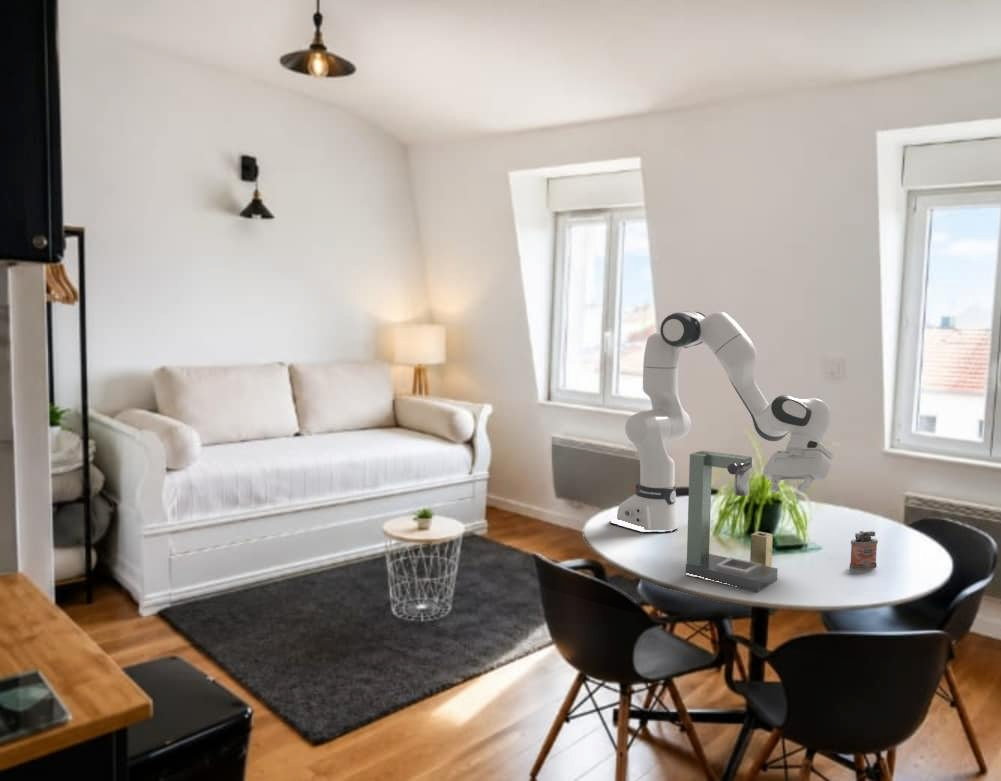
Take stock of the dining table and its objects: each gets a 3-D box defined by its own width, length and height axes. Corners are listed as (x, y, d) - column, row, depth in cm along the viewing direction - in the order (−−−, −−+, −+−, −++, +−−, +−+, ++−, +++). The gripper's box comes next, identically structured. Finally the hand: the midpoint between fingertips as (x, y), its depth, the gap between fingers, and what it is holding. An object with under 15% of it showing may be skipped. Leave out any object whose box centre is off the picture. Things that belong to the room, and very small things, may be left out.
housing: (749, 565, 225) (751, 533, 224) (756, 562, 229) (757, 530, 228) (765, 569, 223) (766, 536, 222) (771, 565, 226) (772, 533, 225)
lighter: (855, 569, 222) (856, 534, 221) (846, 565, 226) (848, 531, 225) (879, 567, 225) (881, 532, 224) (870, 563, 228) (872, 528, 227)
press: (676, 580, 213) (680, 457, 210) (707, 563, 227) (710, 448, 224) (749, 597, 200) (754, 466, 197) (777, 579, 214) (782, 456, 211)
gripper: (767, 445, 242) (752, 485, 237) (825, 442, 224) (809, 485, 219) (780, 457, 244) (765, 496, 239) (838, 454, 226) (823, 497, 221)
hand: (787, 491), depth 229 cm, fingers open, 8 cm apart
